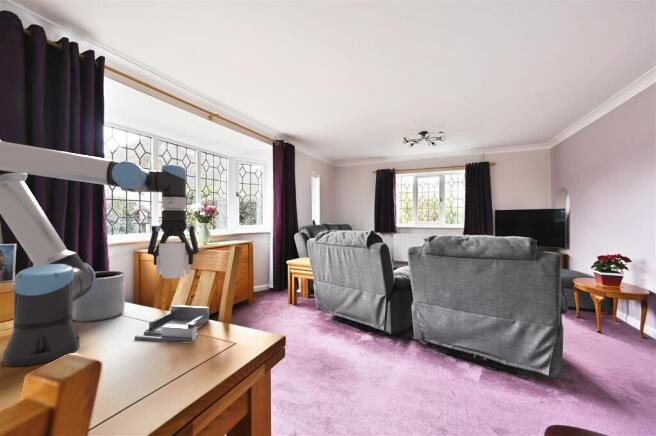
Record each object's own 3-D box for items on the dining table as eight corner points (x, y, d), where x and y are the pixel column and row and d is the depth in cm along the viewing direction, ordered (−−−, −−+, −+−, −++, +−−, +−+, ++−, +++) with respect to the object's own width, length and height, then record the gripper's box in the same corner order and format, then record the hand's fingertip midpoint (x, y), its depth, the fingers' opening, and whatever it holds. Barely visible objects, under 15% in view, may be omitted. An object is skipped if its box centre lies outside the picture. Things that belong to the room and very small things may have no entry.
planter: (134, 311, 118) (135, 272, 118) (94, 325, 103) (95, 280, 103) (102, 307, 122) (103, 269, 122) (58, 320, 106) (59, 277, 106)
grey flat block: (161, 339, 92) (161, 322, 92) (166, 336, 94) (166, 320, 94) (192, 341, 91) (192, 324, 91) (196, 338, 93) (196, 322, 93)
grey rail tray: (145, 333, 96) (146, 317, 96) (172, 319, 110) (173, 305, 110) (186, 336, 95) (187, 319, 95) (208, 321, 109) (209, 307, 109)
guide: (134, 339, 91) (134, 336, 91) (145, 333, 96) (145, 330, 96) (190, 343, 90) (190, 340, 90) (198, 337, 94) (198, 334, 94)
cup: (165, 274, 109) (165, 241, 109) (191, 274, 109) (191, 241, 109) (153, 279, 100) (153, 243, 100) (181, 279, 100) (181, 243, 100)
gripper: (135, 209, 99) (135, 276, 99) (203, 209, 102) (203, 275, 103) (145, 209, 106) (145, 272, 107) (208, 210, 110) (208, 271, 110)
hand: (173, 274), depth 105 cm, fingers closed on cup, 9 cm apart
